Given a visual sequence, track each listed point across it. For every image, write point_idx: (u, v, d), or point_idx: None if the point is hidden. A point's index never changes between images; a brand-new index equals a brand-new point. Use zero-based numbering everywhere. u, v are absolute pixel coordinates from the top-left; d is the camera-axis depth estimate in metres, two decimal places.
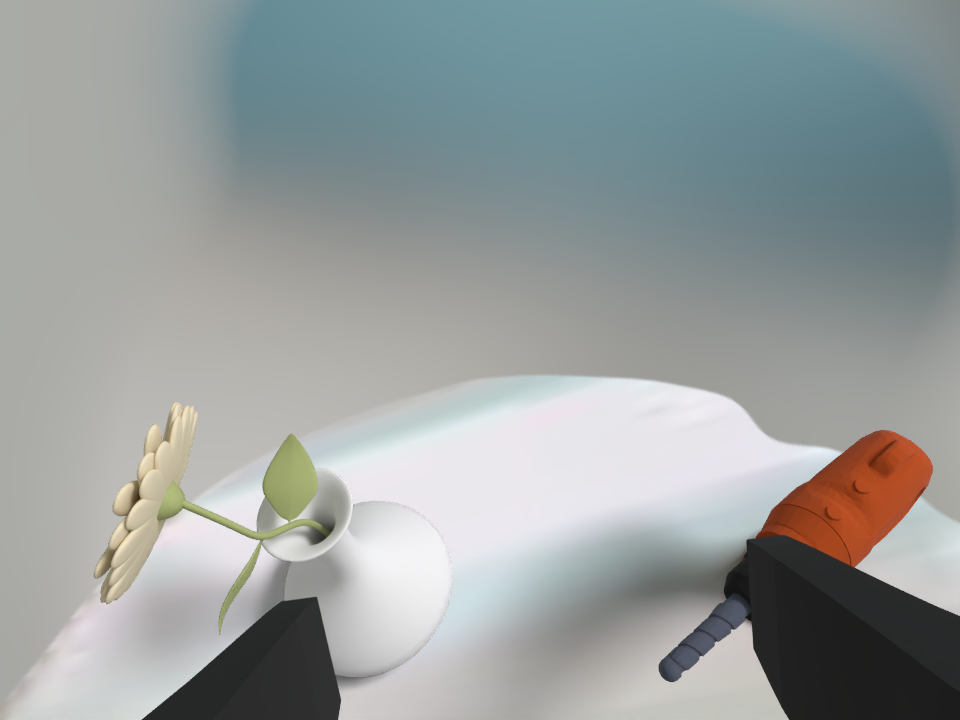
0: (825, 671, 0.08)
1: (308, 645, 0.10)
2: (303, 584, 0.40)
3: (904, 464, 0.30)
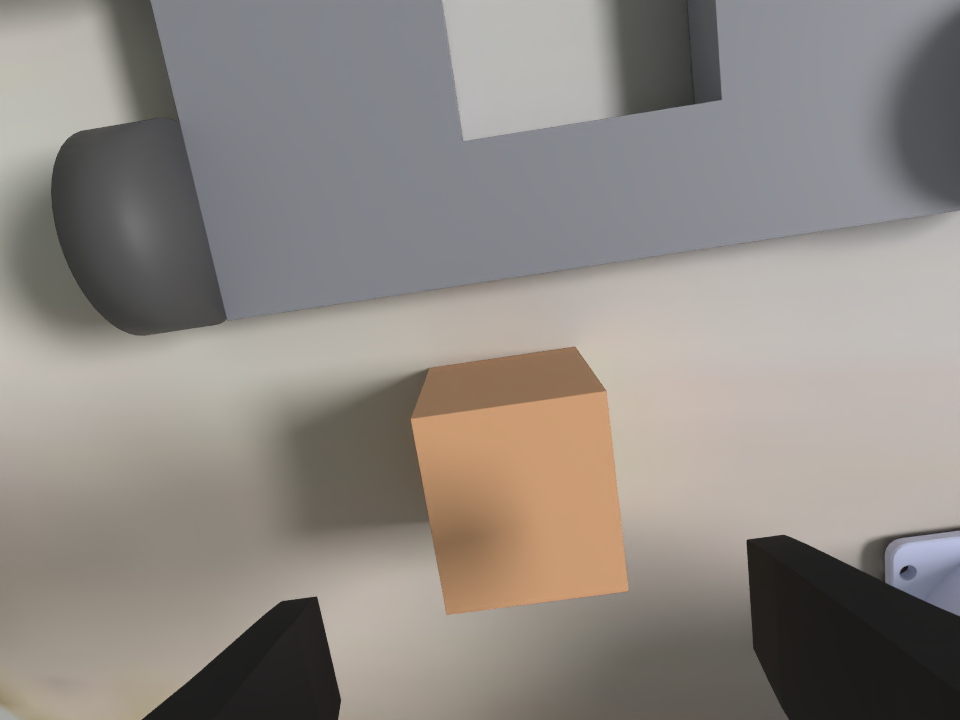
0: (825, 671, 0.08)
1: (308, 645, 0.10)
2: None
3: None
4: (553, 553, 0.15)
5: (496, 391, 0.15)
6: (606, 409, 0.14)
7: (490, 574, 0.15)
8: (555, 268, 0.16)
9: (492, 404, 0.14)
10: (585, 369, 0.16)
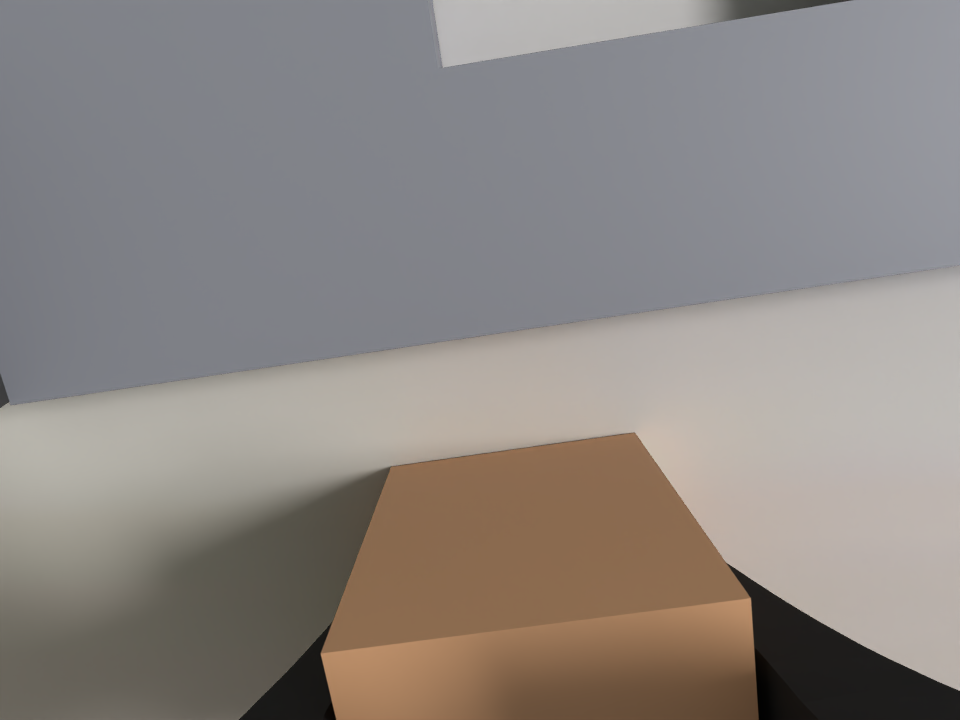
0: None
1: None
2: None
3: None
4: None
5: (504, 564, 0.08)
6: (748, 635, 0.06)
7: None
8: (615, 311, 0.09)
9: (499, 616, 0.07)
10: (675, 506, 0.08)
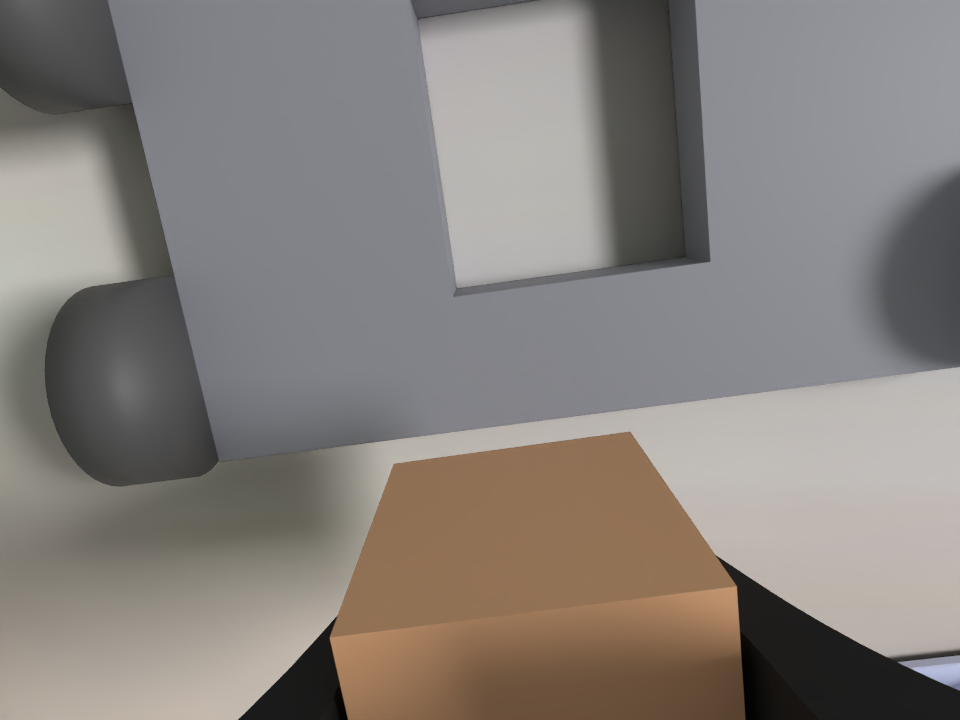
0: None
1: None
2: None
3: None
4: None
5: (503, 554, 0.08)
6: (734, 621, 0.07)
7: None
8: (544, 418, 0.16)
9: (498, 604, 0.07)
10: (667, 501, 0.09)
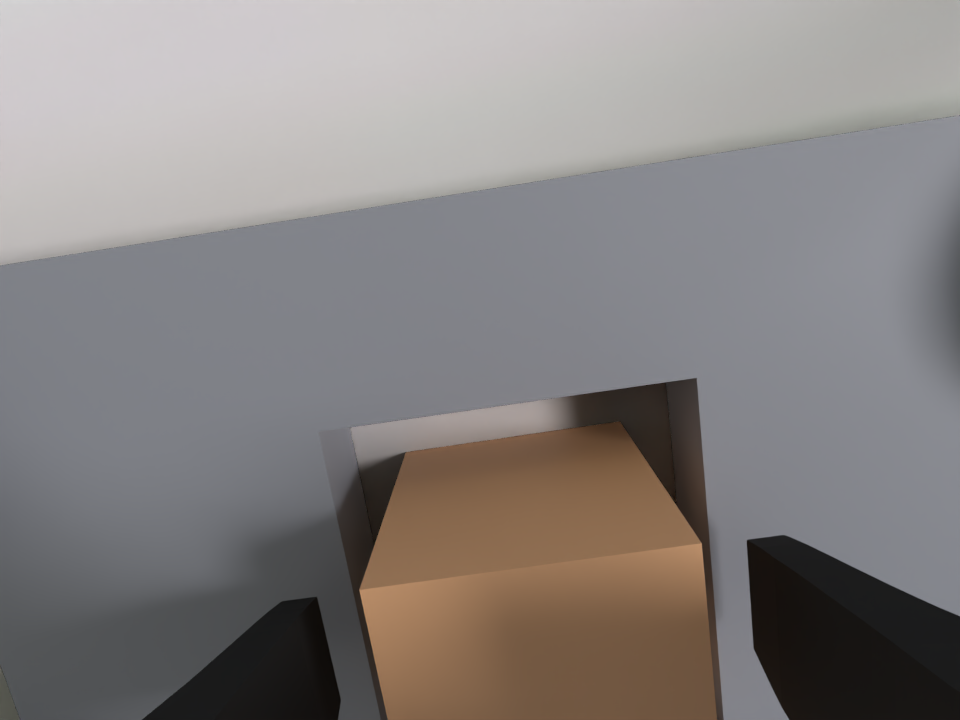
0: (825, 671, 0.08)
1: (308, 645, 0.10)
2: None
3: None
4: None
5: (505, 523, 0.09)
6: (700, 573, 0.08)
7: None
8: None
9: (501, 561, 0.08)
10: (648, 478, 0.10)
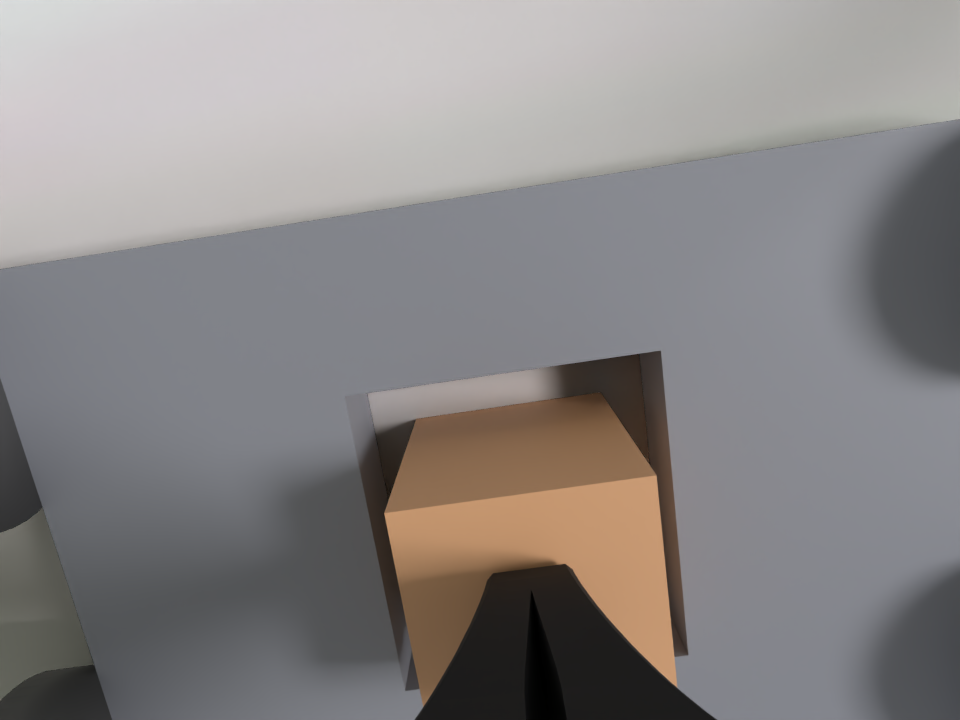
0: (555, 704, 0.08)
1: None
2: None
3: None
4: None
5: (501, 466, 0.11)
6: (655, 500, 0.10)
7: None
8: None
9: (497, 491, 0.10)
10: (620, 432, 0.12)
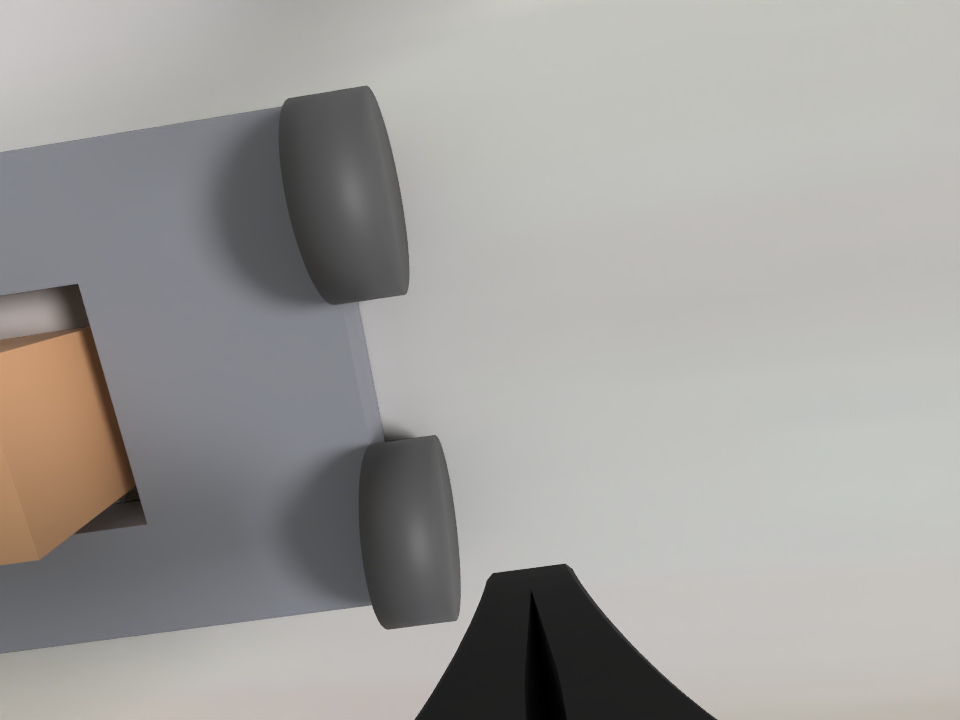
0: (555, 704, 0.08)
1: None
2: None
3: None
4: None
5: None
6: None
7: None
8: (32, 647, 0.19)
9: None
10: (31, 343, 0.16)
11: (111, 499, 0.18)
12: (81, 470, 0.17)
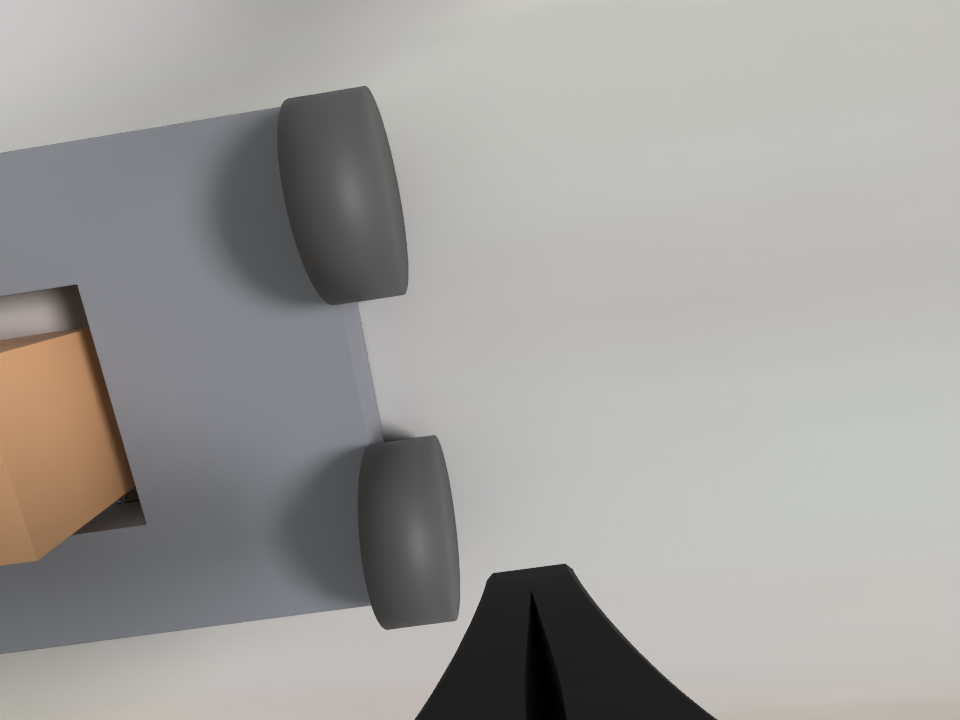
0: (555, 705, 0.08)
1: None
2: None
3: None
4: None
5: None
6: None
7: None
8: (31, 648, 0.19)
9: None
10: (30, 343, 0.16)
11: (110, 500, 0.18)
12: (79, 470, 0.17)
